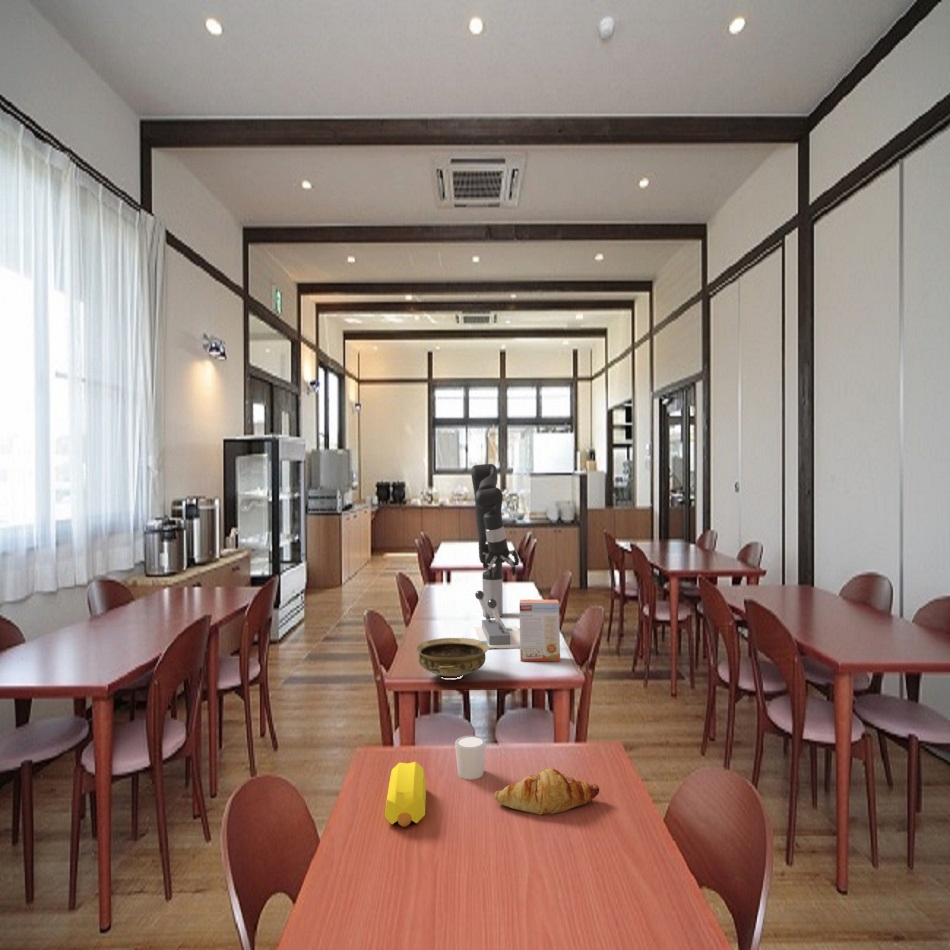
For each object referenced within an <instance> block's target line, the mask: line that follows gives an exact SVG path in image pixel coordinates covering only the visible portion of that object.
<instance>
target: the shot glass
mask: <svg viewBox="0 0 950 950" xmlns="http://www.w3.org/2000/svg"><path fill="white" fill-rule="evenodd" d="M486 746H487V741H486V740H485V739H484V738H483V737H482V736H481V737H480V736H478V735H464V736H461V737H459V738H457V739H455V742H454V747H455V755H456V756H455V757H456V765H457V775H458V777H460V778H462V779H463V780H464V779H465V780H477V779H479V778H481V777H483V775H484V773H485V761H486V760H485V759H486Z"/></svg>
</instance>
